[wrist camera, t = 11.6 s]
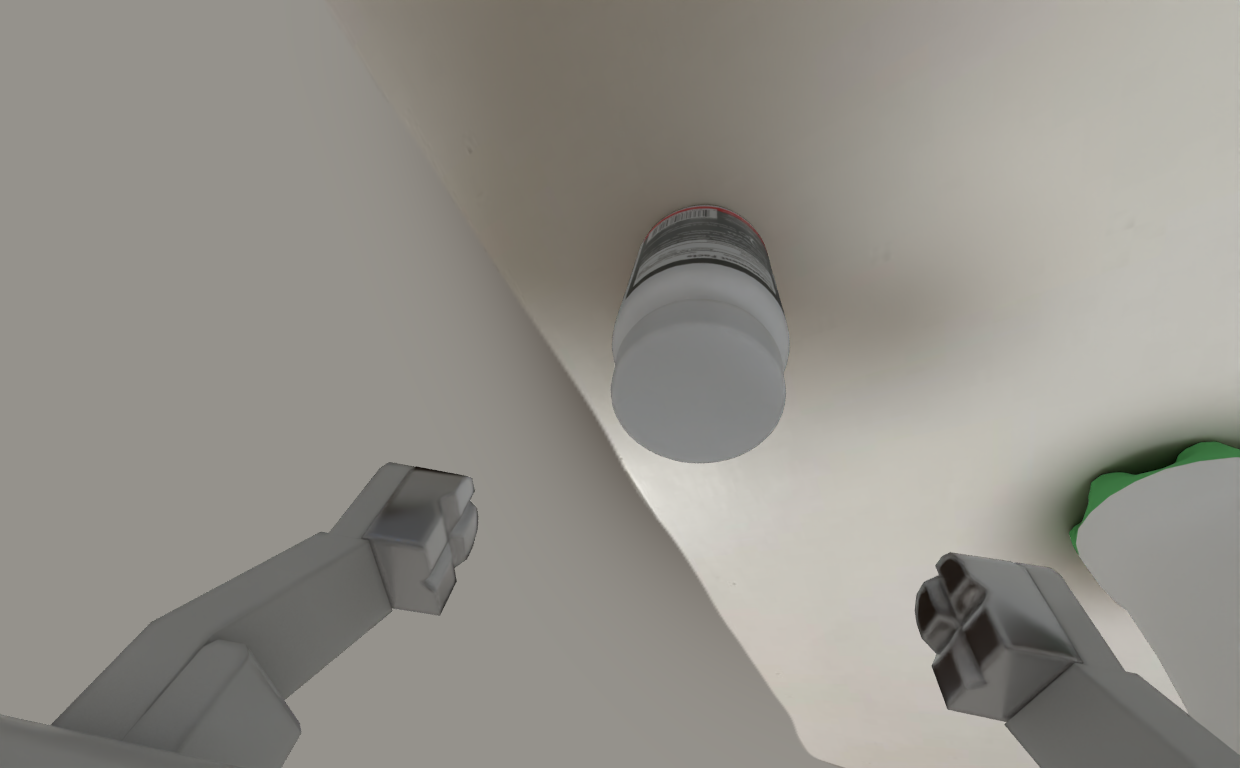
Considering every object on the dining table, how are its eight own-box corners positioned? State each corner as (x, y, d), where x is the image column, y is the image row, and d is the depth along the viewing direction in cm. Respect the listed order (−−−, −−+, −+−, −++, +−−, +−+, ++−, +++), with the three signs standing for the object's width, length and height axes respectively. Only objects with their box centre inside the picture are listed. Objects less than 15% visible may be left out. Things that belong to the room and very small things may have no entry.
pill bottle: (728, 343, 20) (739, 502, 13) (618, 298, 19) (570, 437, 13) (794, 234, 17) (851, 363, 10) (667, 179, 17) (640, 275, 10)
